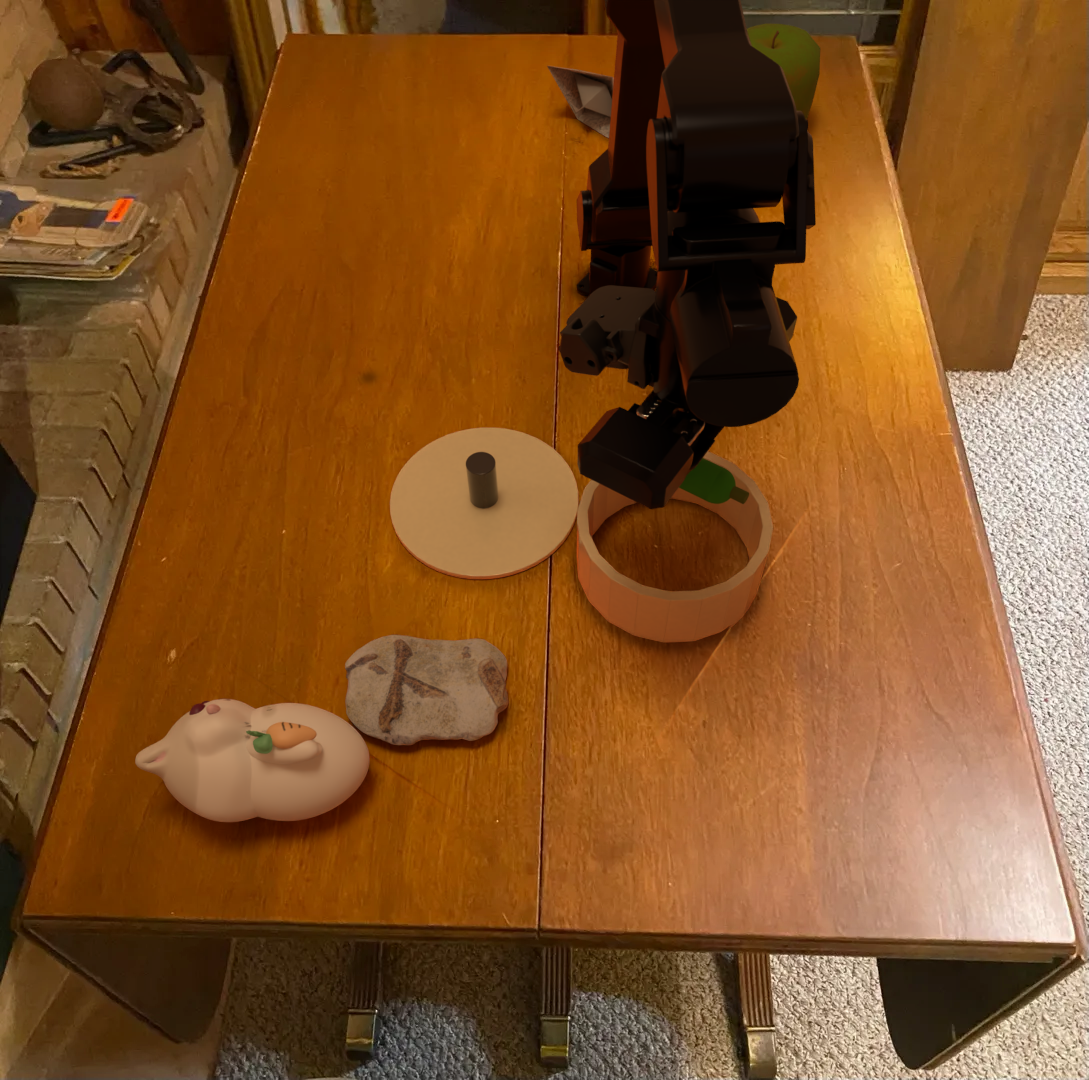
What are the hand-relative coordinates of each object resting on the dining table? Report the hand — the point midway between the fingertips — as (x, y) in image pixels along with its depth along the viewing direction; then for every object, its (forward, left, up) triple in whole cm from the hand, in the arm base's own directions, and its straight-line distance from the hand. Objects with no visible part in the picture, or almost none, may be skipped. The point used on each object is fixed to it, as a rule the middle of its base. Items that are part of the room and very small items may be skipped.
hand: (679, 470), depth 72 cm
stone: (+20, -9, -12) cm, 25 cm away
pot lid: (+3, -16, -12) cm, 20 cm away
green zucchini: (0, 0, -1) cm, 1 cm away
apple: (-60, -22, -12) cm, 65 cm away
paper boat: (-49, -39, -12) cm, 64 cm away
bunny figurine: (+31, -14, -12) cm, 36 cm away
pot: (0, 0, -12) cm, 12 cm away
